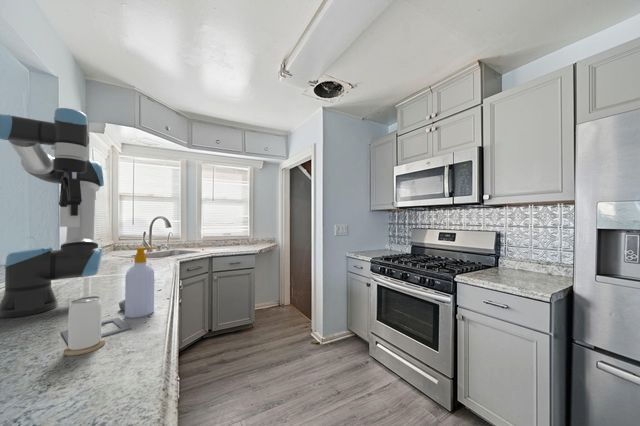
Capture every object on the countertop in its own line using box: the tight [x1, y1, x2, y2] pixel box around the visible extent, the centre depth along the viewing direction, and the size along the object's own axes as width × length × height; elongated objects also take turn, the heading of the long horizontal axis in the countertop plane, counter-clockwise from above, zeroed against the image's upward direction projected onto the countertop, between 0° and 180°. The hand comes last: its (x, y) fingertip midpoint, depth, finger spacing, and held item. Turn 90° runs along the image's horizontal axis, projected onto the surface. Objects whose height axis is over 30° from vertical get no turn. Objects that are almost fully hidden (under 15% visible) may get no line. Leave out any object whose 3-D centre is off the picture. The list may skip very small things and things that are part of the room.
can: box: [67, 295, 103, 351], centre depth 68 cm, size 6×6×12 cm
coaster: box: [63, 338, 106, 357], centre depth 68 cm, size 8×8×1 cm
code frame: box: [60, 317, 133, 345], centre depth 79 cm, size 14×14×1 cm
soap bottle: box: [124, 246, 157, 319], centre depth 94 cm, size 9×9×24 cm
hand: (69, 227), depth 81 cm, fingers open, 13 cm apart
